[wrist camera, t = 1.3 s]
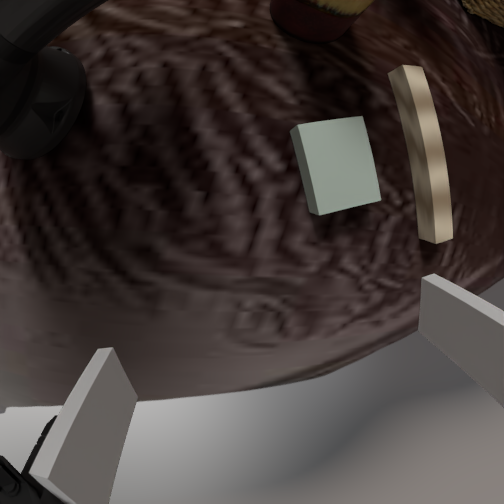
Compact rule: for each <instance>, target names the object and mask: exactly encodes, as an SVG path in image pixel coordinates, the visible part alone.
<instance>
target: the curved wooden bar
mask: <svg viewBox="0 0 504 504" xmlns="http://www.w3.org/2000/svg"><path fill="white" fill-rule="evenodd" d="M388 76H389V79H390V82H391V86H392V89H393V92H394V96H395V99H396V103H397V107H398V110H399V114H400V118H401V122H402V127H403V131H404V135H405V140H406V145H407V150H408V155H409V161H410V166H411V172H412V179H413V186H414V193H415V201H416V210H417V221H418V233H419V239H422V240H426V241H428V242H431V243H434V244H437V243H440V242H443V241H446V240H449V239H452V238H453V229H452V212H451V199H450V190H449V181H448V174H447V167H446V160H445V154H444V149H443V143H442V138H441V134H440V129H439V124H438V120H437V116H436V112H435V108H434V104H433V101H432V97H431V94H430V90H429V87H428V84H427V81H426V77H425V74H424V71H423V68H422V67H417V66H408V65H402V66H400V67H398V68H396V69H395V70H393V71H391V72H390V73H388Z"/></svg>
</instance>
